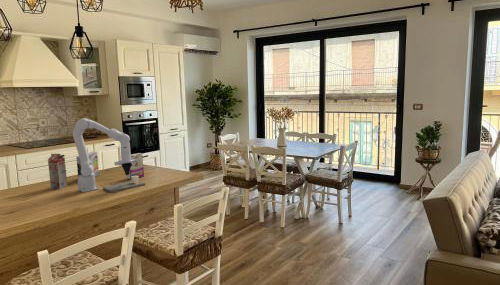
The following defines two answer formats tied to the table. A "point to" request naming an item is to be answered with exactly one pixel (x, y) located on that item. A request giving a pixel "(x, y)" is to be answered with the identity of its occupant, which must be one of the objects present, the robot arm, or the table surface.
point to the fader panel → (122, 186)
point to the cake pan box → (94, 161)
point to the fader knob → (135, 179)
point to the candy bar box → (136, 166)
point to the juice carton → (57, 171)
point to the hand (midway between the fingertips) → (127, 174)
